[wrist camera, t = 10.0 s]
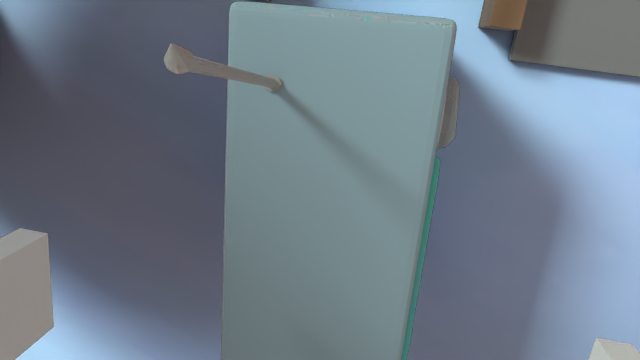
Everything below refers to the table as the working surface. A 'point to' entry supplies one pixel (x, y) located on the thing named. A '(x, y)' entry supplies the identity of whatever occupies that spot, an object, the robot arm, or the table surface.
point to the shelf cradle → (500, 14)
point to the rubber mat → (580, 35)
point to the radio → (328, 176)
